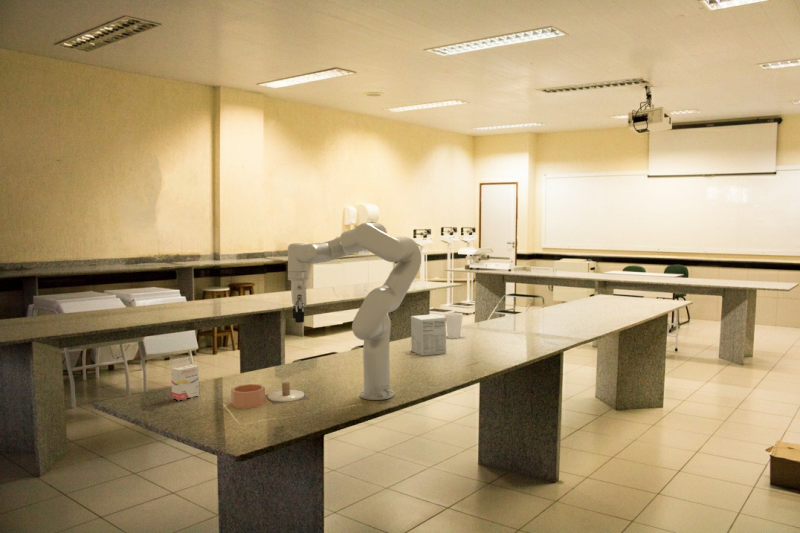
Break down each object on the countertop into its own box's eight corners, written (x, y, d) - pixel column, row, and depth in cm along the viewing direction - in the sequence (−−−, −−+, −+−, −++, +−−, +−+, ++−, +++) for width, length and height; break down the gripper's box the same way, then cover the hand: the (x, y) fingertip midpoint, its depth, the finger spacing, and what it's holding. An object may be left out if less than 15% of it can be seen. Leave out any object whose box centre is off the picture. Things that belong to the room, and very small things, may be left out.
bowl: (267, 406, 217) (267, 389, 216) (236, 411, 212) (235, 394, 211) (259, 399, 226) (259, 382, 226) (229, 403, 221) (229, 386, 221)
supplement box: (446, 353, 298) (446, 317, 297) (421, 356, 293) (421, 319, 292) (435, 348, 310) (434, 313, 309) (410, 351, 306) (410, 315, 304)
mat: (309, 400, 223) (309, 398, 223) (273, 405, 218) (273, 404, 217) (297, 391, 235) (297, 390, 235) (263, 396, 229) (263, 395, 229)
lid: (309, 398, 223) (308, 384, 223) (273, 404, 217) (273, 389, 217) (297, 390, 235) (297, 376, 235) (263, 395, 229) (263, 381, 229)
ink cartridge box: (179, 402, 225) (177, 361, 223) (171, 399, 228) (169, 360, 227) (200, 396, 231) (198, 357, 230) (192, 394, 234) (190, 355, 233)
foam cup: (443, 338, 336) (443, 314, 335) (447, 335, 345) (447, 312, 344) (461, 339, 333) (460, 315, 332) (464, 336, 342) (464, 312, 341)
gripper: (310, 277, 230) (310, 323, 231) (305, 273, 246) (305, 316, 248) (290, 278, 228) (290, 324, 229) (286, 273, 244) (286, 317, 246)
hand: (298, 320), depth 238 cm, fingers open, 9 cm apart
